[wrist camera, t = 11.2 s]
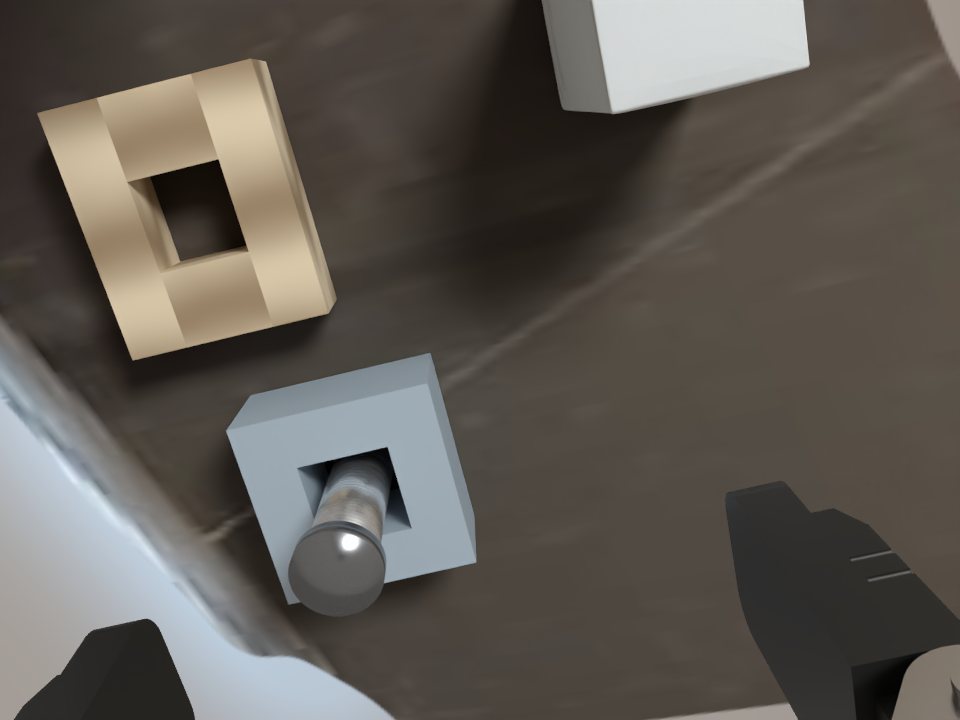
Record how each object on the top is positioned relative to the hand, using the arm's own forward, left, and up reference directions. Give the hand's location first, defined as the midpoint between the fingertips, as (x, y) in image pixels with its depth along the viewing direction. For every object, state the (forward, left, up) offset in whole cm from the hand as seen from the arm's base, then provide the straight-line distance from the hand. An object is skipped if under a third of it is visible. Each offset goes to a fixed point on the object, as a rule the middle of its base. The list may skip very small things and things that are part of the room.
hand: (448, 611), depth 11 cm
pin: (+11, -8, -33) cm, 35 cm away
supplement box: (-8, +10, -33) cm, 35 cm away
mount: (-4, -12, -33) cm, 35 cm away
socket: (+11, -8, -33) cm, 35 cm away
